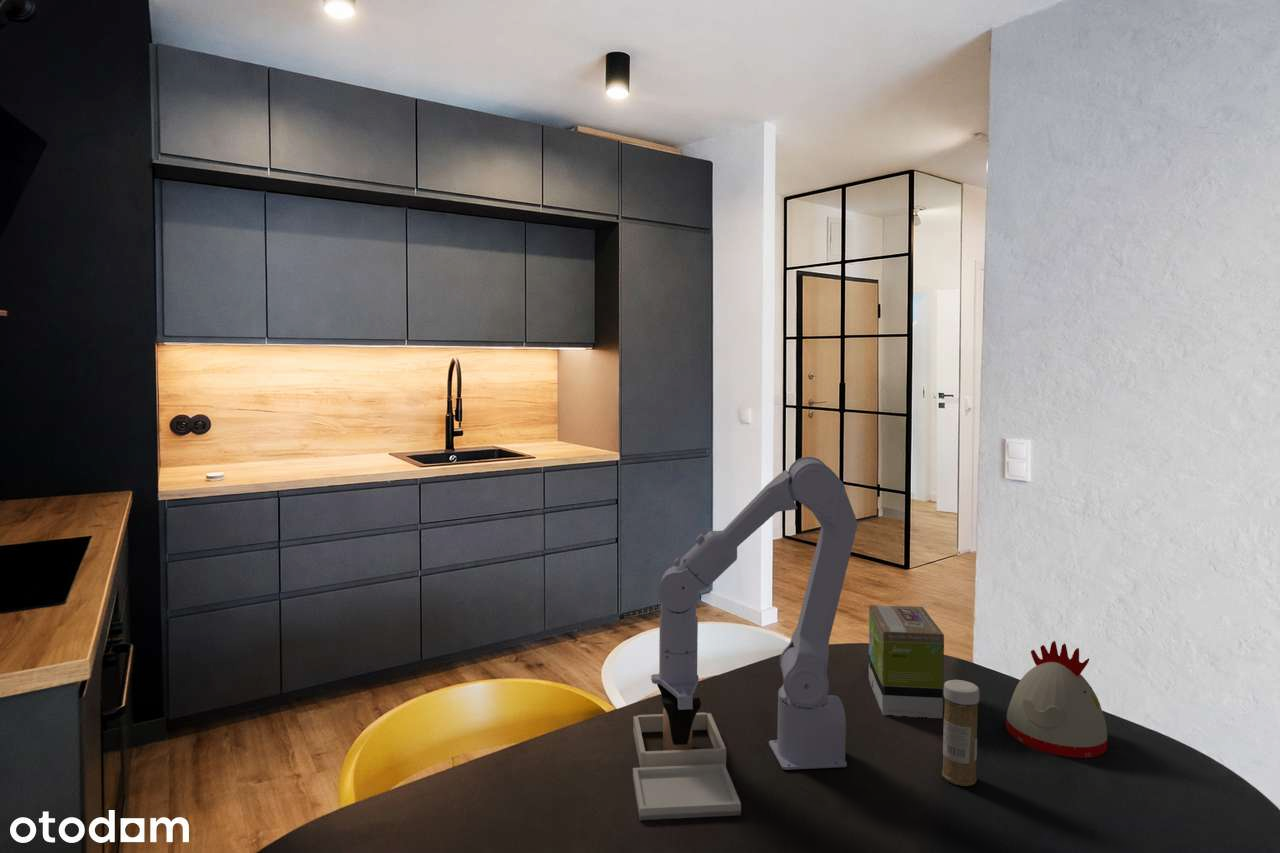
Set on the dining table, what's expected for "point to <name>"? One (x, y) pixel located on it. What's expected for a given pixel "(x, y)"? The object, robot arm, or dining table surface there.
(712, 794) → the tray
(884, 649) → the tea box
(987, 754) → the dining table surface
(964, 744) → the sprinkles bottle
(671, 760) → the grey square frame
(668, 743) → the terracotta cylinder
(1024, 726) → the kitchen timer
